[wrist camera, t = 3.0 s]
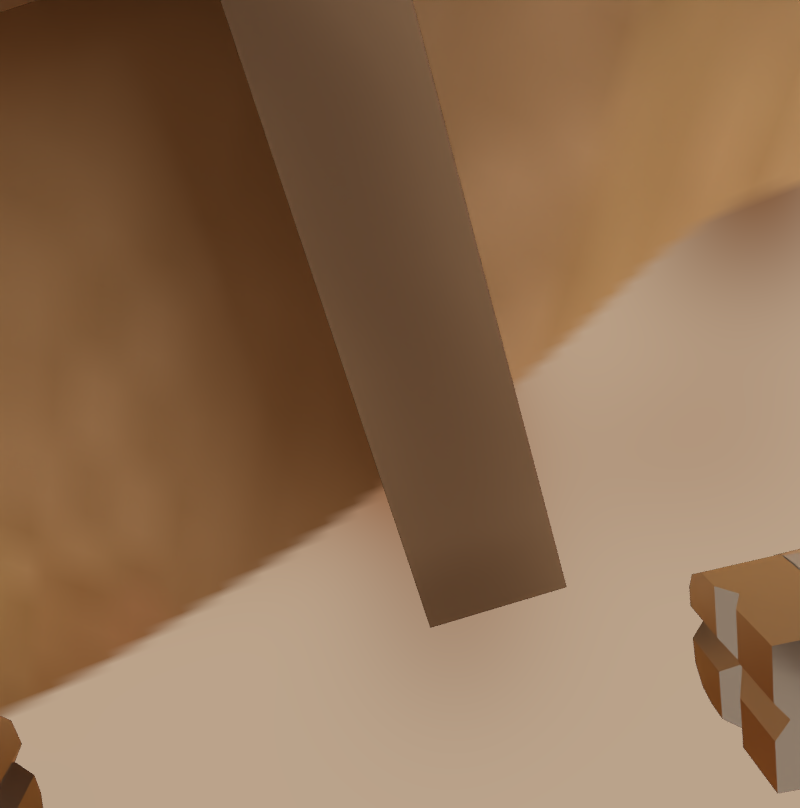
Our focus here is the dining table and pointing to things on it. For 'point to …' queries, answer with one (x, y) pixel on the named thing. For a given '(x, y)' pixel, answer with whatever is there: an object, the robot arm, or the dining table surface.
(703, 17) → the dining table surface
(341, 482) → the dining table surface
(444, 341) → the wooden l-shaped bracket
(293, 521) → the dining table surface
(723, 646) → the robot arm
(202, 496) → the dining table surface
